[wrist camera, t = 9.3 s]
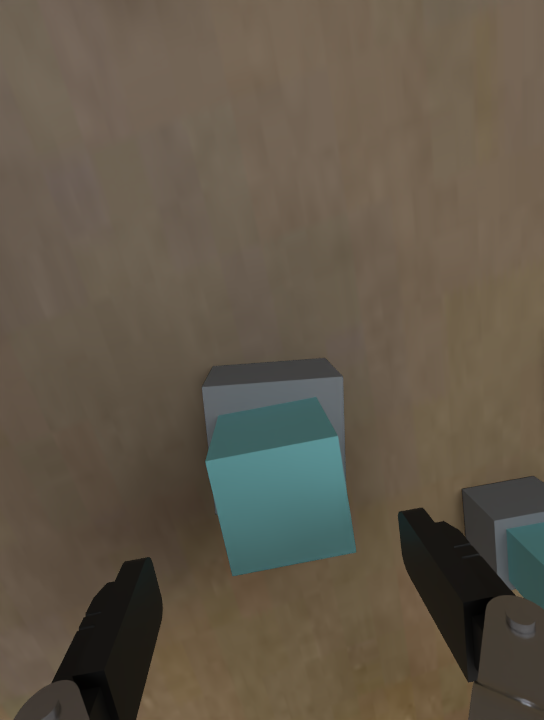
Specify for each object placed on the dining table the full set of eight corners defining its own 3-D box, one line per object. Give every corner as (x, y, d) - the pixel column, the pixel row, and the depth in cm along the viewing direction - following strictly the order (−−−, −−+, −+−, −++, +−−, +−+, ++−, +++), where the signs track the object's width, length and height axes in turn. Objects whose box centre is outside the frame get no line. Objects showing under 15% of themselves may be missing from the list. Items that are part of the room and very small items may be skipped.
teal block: (238, 504, 20) (232, 576, 15) (218, 415, 19) (205, 461, 14) (331, 486, 20) (356, 552, 15) (316, 397, 19) (338, 436, 14)
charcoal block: (223, 469, 25) (215, 514, 20) (213, 365, 23) (201, 387, 18) (328, 460, 25) (346, 503, 20) (324, 357, 24) (342, 376, 19)
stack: (466, 552, 26) (540, 645, 20) (462, 489, 25) (538, 564, 19) (536, 539, 27) (634, 628, 20) (533, 476, 26) (636, 546, 19)
